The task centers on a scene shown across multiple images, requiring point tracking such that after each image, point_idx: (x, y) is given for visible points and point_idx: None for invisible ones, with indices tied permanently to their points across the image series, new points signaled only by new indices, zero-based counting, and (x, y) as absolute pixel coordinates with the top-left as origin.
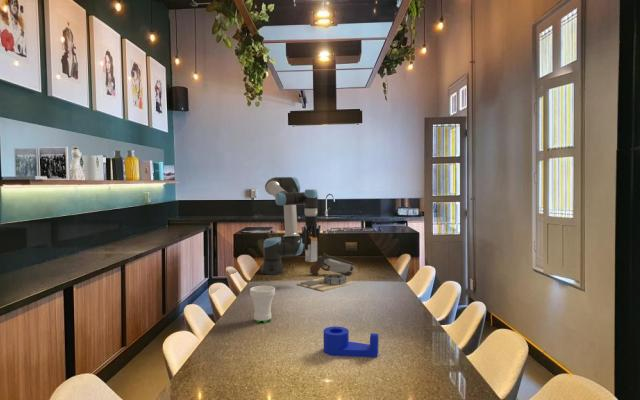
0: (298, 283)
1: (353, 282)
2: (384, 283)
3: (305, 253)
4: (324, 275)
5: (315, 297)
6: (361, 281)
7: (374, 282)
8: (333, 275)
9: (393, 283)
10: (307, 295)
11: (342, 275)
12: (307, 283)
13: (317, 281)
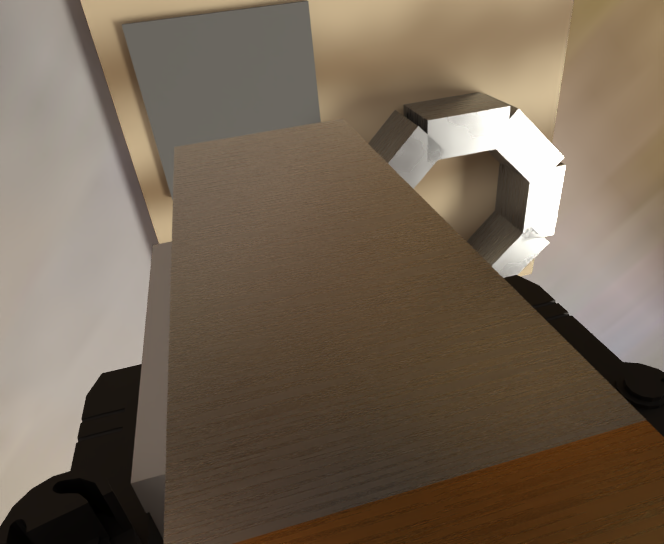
0: (95, 11)
1: (528, 273)
2: (633, 348)
3: (173, 221)
4: (427, 122)
5: (54, 439)
6: (610, 245)
7: (627, 306)
8: (503, 156)
9: (657, 367)
10: (15, 383)
11: (537, 225)
12: (180, 112)
13: (341, 73)
